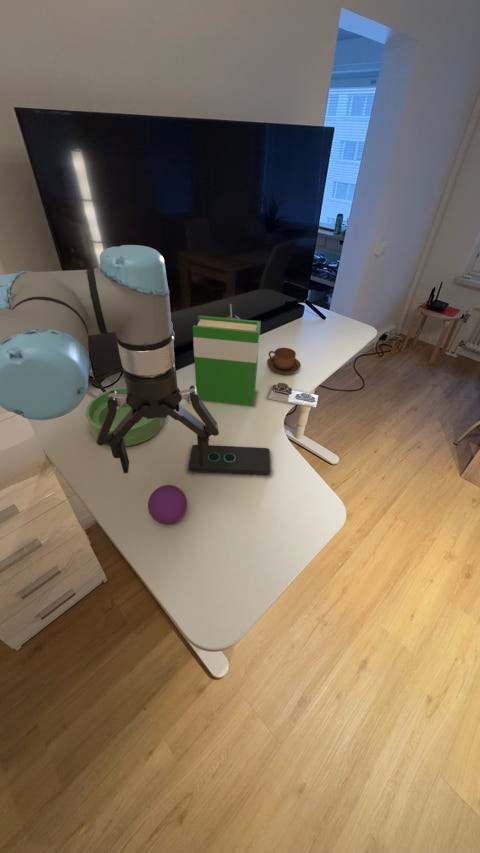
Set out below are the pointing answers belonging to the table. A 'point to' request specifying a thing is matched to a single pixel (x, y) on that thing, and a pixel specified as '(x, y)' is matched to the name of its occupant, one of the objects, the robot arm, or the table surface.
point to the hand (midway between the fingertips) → (164, 464)
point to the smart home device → (231, 460)
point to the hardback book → (226, 359)
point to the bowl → (120, 419)
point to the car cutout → (292, 396)
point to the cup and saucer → (283, 361)
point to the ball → (167, 504)
